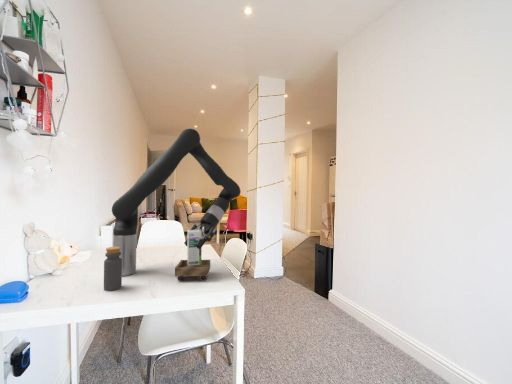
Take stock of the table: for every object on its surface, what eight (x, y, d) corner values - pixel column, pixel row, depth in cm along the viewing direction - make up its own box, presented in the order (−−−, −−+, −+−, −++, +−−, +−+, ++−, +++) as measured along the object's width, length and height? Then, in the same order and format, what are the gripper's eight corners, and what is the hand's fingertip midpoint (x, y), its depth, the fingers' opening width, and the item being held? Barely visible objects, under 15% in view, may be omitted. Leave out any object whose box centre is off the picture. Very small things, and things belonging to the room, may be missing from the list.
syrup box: (187, 266, 107) (187, 231, 107) (187, 262, 113) (187, 229, 113) (201, 265, 109) (201, 230, 109) (200, 261, 114) (200, 228, 114)
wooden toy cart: (174, 282, 103) (174, 268, 103) (181, 272, 116) (181, 259, 116) (207, 281, 105) (207, 267, 105) (210, 272, 118) (210, 259, 118)
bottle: (117, 284, 101) (118, 245, 101) (124, 287, 97) (124, 247, 97) (101, 288, 96) (101, 248, 96) (107, 292, 92) (108, 250, 92)
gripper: (198, 211, 121) (176, 239, 112) (218, 212, 112) (196, 243, 103) (207, 221, 125) (186, 249, 116) (227, 223, 116) (207, 254, 107)
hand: (191, 246), depth 110 cm, fingers closed on syrup box, 8 cm apart
